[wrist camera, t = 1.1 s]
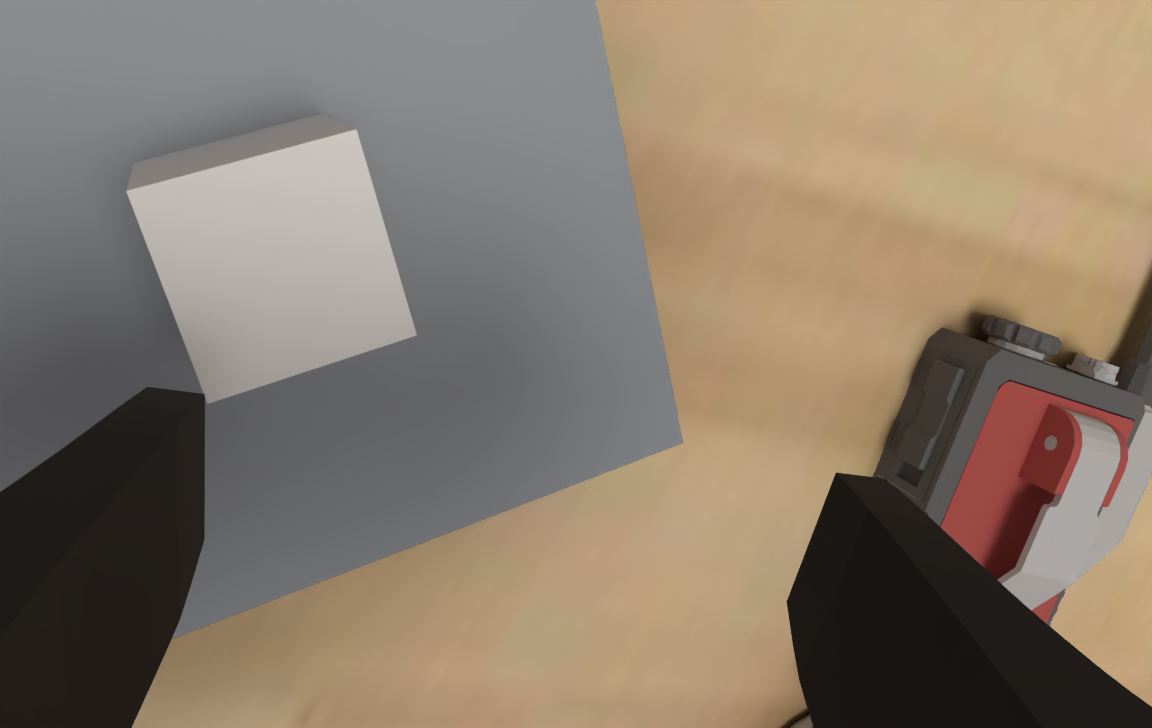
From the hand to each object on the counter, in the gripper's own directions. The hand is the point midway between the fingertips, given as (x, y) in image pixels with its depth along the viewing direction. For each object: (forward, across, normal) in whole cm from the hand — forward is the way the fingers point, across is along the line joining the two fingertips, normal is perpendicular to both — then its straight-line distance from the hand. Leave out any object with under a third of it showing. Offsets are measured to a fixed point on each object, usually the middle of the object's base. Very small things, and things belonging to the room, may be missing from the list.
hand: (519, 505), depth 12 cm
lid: (+7, +4, 0) cm, 9 cm away
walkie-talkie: (+16, -16, +8) cm, 24 cm away
